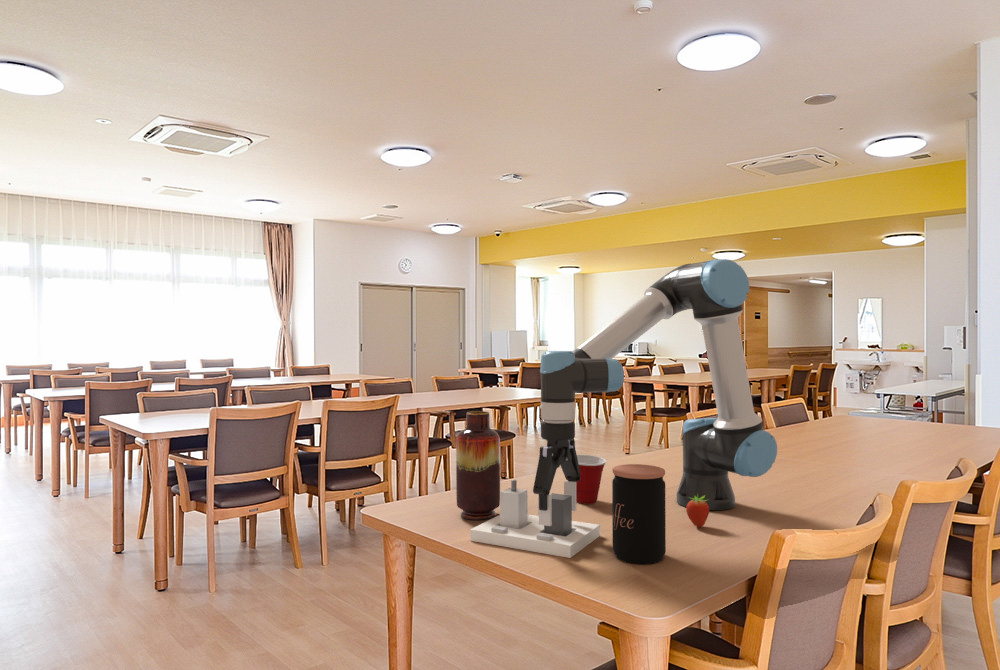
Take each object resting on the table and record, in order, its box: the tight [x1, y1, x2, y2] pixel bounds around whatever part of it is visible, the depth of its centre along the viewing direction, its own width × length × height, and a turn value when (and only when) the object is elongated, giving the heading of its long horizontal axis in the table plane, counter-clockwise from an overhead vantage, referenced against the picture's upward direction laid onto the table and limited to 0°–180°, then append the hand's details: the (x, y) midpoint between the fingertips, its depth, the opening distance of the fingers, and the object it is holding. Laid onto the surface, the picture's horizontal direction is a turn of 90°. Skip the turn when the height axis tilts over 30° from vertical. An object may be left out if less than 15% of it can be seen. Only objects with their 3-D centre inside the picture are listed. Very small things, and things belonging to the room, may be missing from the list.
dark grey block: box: [544, 492, 573, 536], centre depth 146 cm, size 5×5×10 cm
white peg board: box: [469, 479, 601, 559], centre depth 148 cm, size 24×17×12 cm
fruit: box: [685, 494, 710, 528], centre depth 156 cm, size 5×5×8 cm
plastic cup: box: [575, 453, 607, 505], centre depth 181 cm, size 11×11×12 cm
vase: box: [455, 410, 501, 521], centre depth 167 cm, size 11×11×26 cm
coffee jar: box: [611, 463, 667, 565], centre depth 136 cm, size 11×11×18 cm
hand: (558, 517), depth 146 cm, fingers open, 13 cm apart
